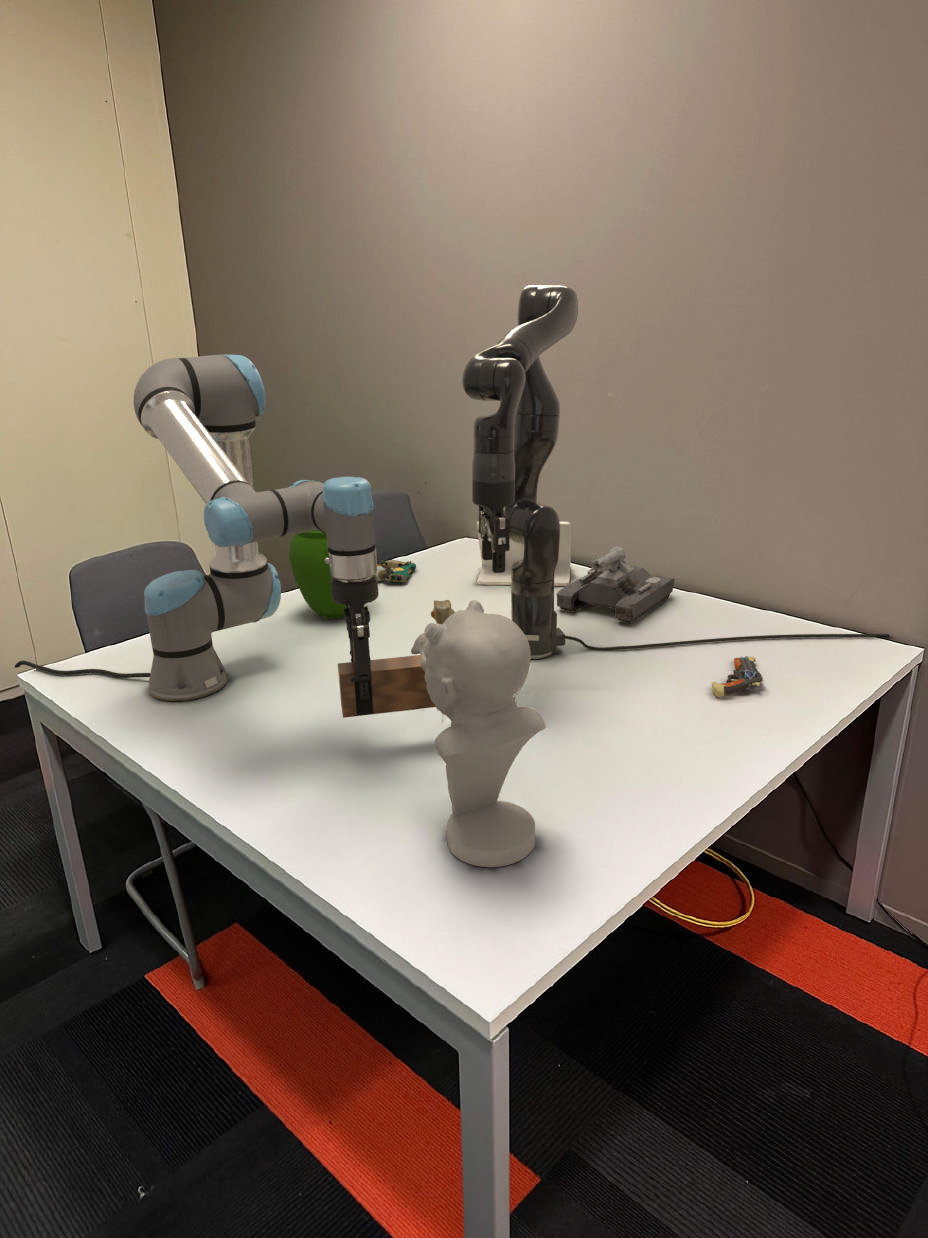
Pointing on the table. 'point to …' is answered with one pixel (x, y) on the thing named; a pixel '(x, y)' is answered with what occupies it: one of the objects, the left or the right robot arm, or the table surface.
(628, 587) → the toy
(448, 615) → the sculpture
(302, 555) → the vase
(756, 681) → the toy gun
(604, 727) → the table surface
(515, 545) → the tablet stand
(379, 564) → the spray gun
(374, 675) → the bar
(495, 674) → the bust sculpture
